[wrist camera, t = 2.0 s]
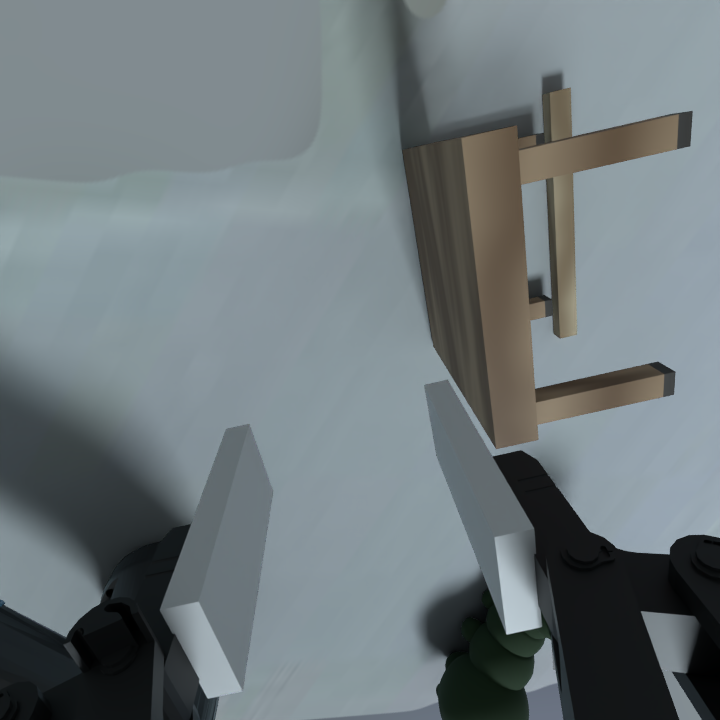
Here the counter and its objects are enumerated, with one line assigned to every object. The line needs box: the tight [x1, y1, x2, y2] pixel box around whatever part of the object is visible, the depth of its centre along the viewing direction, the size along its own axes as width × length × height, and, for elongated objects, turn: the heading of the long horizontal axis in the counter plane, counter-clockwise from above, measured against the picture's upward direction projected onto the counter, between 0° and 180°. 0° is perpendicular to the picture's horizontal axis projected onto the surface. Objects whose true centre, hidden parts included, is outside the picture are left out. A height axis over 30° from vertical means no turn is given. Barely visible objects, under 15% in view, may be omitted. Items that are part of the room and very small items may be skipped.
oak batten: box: [542, 88, 577, 338], centre depth 37 cm, size 2×19×1 cm, turn 12°
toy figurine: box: [436, 590, 551, 720], centre depth 47 cm, size 9×19×25 cm
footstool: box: [402, 111, 693, 449], centre depth 30 cm, size 10×16×16 cm, turn 12°
